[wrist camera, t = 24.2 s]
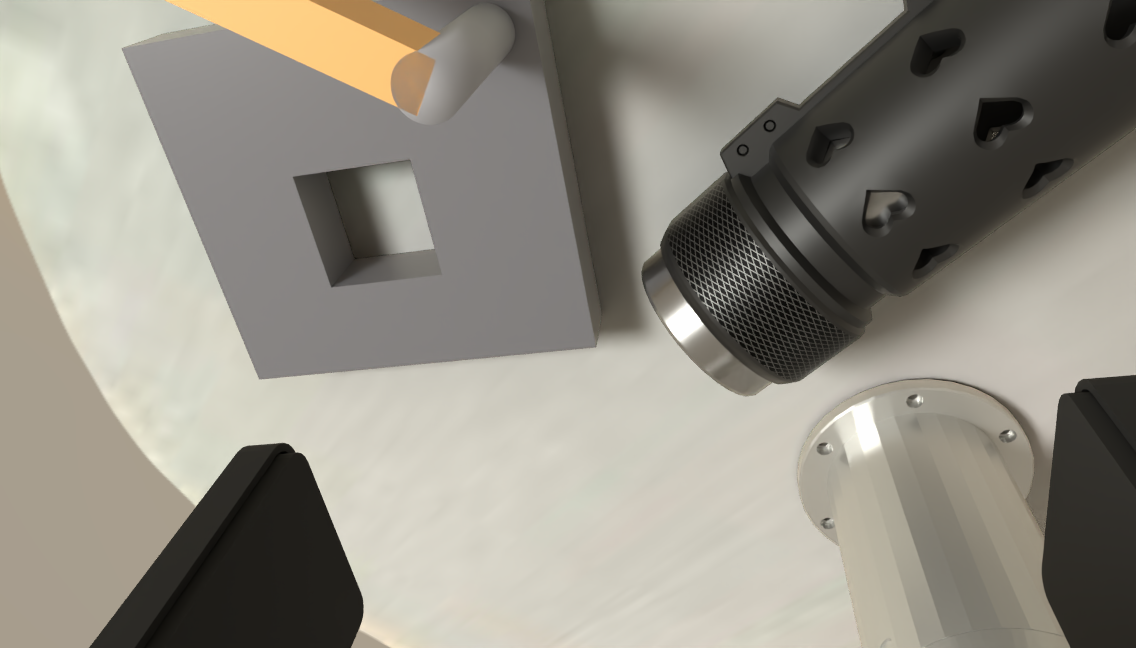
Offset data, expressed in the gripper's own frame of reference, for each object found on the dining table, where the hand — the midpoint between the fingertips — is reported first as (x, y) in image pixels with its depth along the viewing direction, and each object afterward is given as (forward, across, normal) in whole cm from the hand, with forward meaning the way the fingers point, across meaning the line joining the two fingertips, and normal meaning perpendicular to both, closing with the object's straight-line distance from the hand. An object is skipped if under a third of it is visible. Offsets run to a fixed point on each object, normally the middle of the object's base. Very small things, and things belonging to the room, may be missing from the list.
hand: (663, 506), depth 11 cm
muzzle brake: (+29, -7, 0) cm, 29 cm away
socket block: (+32, +16, +5) cm, 36 cm away
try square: (+28, +14, -6) cm, 32 cm away
